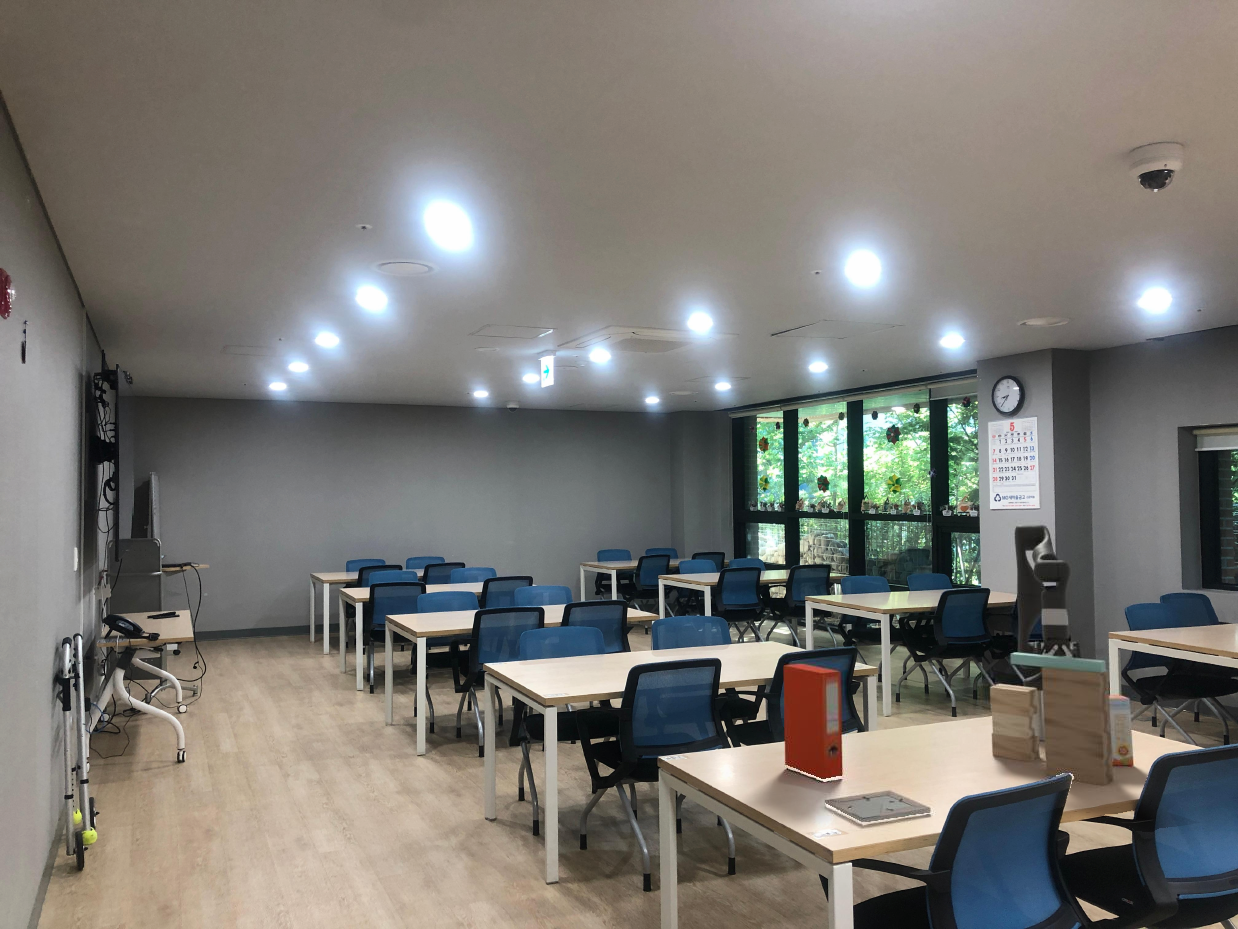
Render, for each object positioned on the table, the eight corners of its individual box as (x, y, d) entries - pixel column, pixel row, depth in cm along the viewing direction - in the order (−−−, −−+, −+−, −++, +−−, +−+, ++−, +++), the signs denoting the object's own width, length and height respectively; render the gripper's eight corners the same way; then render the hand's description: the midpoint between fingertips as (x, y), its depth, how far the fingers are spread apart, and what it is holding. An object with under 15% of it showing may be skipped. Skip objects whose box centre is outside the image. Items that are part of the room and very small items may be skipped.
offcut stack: (1002, 750, 295) (999, 683, 296) (1039, 757, 286) (1036, 688, 288) (992, 755, 289) (989, 687, 290) (1030, 762, 280) (1027, 691, 282)
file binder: (805, 765, 279) (802, 663, 281) (843, 779, 264) (840, 671, 266) (785, 769, 275) (782, 665, 277) (822, 783, 260) (820, 673, 262)
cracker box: (1125, 761, 280) (1121, 694, 281) (1134, 766, 274) (1131, 698, 275) (1079, 760, 281) (1076, 694, 283) (1087, 765, 275) (1084, 697, 277)
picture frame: (862, 828, 224) (930, 816, 232) (862, 817, 224) (930, 807, 232) (824, 808, 239) (889, 798, 247) (824, 799, 239) (889, 789, 247)
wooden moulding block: (1055, 769, 271) (1051, 664, 273) (1113, 780, 260) (1107, 670, 262) (1046, 775, 266) (1041, 667, 268) (1104, 786, 254) (1099, 673, 257)
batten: (1015, 662, 279) (1015, 652, 279) (1105, 671, 261) (1105, 660, 261) (1010, 663, 276) (1010, 653, 276) (1101, 672, 258) (1101, 662, 258)
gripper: (1069, 623, 284) (1073, 675, 281) (1027, 623, 283) (1030, 674, 280) (1083, 624, 277) (1087, 677, 274) (1039, 623, 276) (1043, 676, 273)
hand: (1058, 675), depth 277 cm, fingers open, 8 cm apart
